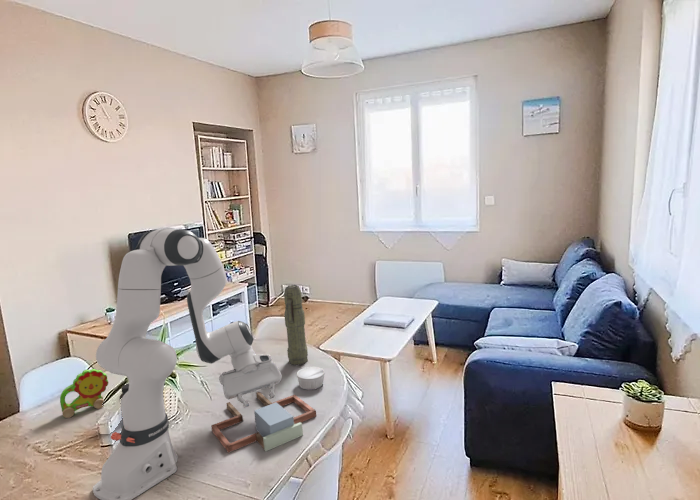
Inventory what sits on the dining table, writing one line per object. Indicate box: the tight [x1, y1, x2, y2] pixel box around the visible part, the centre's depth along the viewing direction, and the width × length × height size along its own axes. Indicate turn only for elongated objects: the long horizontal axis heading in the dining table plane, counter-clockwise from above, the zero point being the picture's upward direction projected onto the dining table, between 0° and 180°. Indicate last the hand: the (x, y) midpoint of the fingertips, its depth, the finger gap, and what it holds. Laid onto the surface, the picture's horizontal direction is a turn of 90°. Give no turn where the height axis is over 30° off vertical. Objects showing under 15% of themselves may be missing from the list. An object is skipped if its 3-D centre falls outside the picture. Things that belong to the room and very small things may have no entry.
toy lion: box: [59, 368, 109, 419], centre depth 162 cm, size 16×6×15 cm, turn 126°
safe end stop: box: [262, 422, 304, 452], centre depth 135 cm, size 1×13×4 cm, turn 125°
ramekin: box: [296, 366, 326, 391], centre depth 172 cm, size 11×11×5 cm
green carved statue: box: [283, 284, 309, 366], centre depth 193 cm, size 9×12×35 cm
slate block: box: [254, 401, 294, 437], centre depth 140 cm, size 12×8×7 cm, turn 36°
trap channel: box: [211, 391, 317, 454], centre depth 148 cm, size 32×31×2 cm
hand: (260, 401), depth 147 cm, fingers open, 8 cm apart
